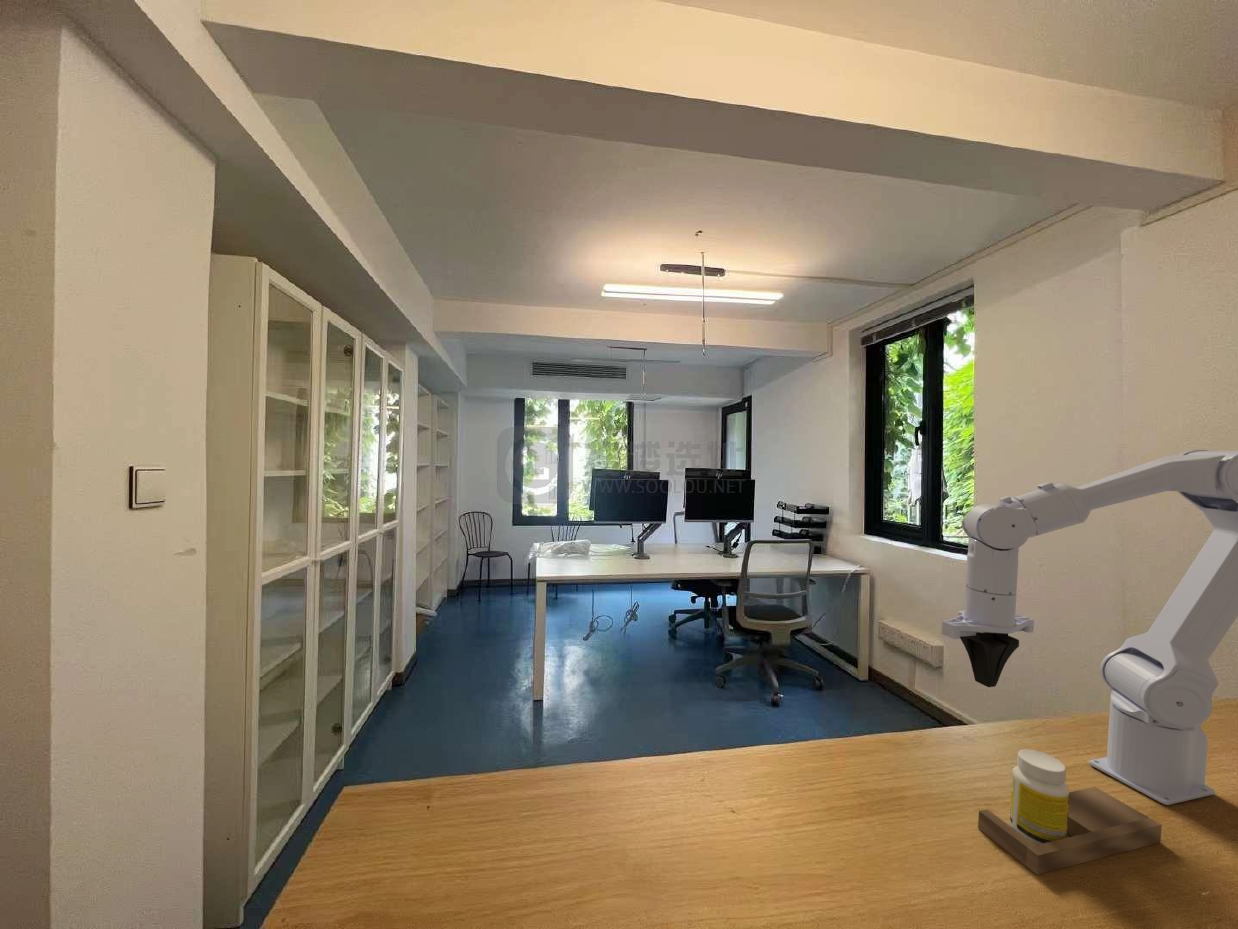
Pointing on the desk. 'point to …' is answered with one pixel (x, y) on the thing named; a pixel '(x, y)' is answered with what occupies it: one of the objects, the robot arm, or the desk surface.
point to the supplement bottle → (1039, 797)
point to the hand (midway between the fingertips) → (985, 683)
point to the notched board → (1078, 833)
